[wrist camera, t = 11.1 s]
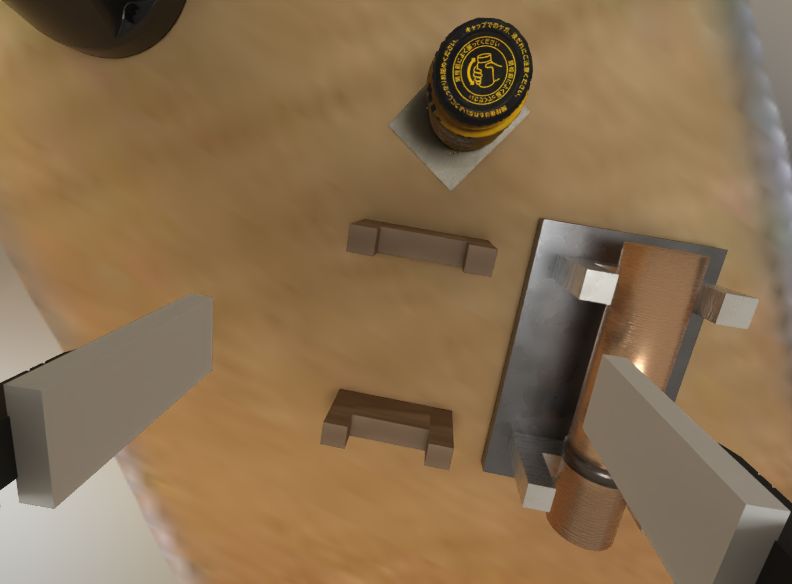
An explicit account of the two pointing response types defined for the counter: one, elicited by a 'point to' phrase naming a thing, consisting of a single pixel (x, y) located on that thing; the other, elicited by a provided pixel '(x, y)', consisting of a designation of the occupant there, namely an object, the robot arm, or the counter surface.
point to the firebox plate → (576, 346)
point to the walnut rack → (388, 415)
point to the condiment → (468, 98)
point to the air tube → (651, 353)
